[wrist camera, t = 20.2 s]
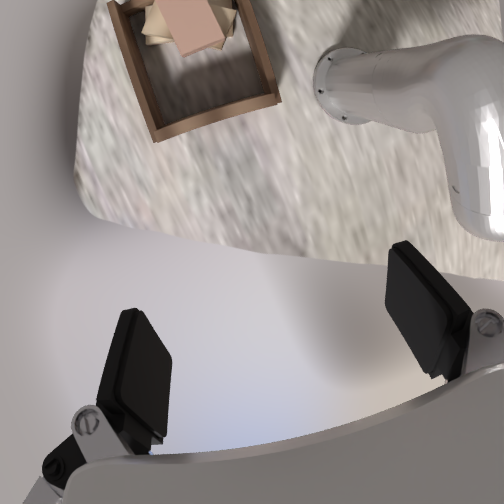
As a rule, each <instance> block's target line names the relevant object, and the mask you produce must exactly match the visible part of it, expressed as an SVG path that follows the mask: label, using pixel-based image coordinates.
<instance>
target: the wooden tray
mask: <svg viewBox="0 0 504 504" xmlns="http://www.w3.org/2000/svg"><path fill="white" fill-rule="evenodd" d="M154 1H155V0H130V1H128V2H126V3H124V4H121V5H120V4H118V3H117V2H116V1H114V0H112V1H110V2H108V3H107V6H108V10H109V13H110V17H111V20H112V23H113V27H114V30H115V33H116V36H117V40H118V43H119V46H120V49H121V52H122V55H123V58H124V61H125V64H126V67H127V70H128V73H129V76H130V79H131V82H132V85H133V88H134V91H135V94H136V96H137V99H138V102H139V105H140V108H141V110H142V113H143V116H144V119H145V121H146V124H147V127H148V129H149V132H150V135H151V137H152V140H153V143H155V142H157V143H159V142H161V141H164V140H166V139H169V138H171V137H174V136H177V135H179V134H182V133H185V132H188V131H191V130H193V129H196V128H199V127H202V126H205V125H208V124H211V123H214V122H217V121H220V120H224V119H227V118H230V117H234V116H237V115H240V114H244V113H247V112H251V111H255V110H258V109H262V108H266V107H270V106H274V105H277V103H281V102H282V100H281V97H280V93H279V90H278V86H277V83H276V79H275V76H274V73H273V69H272V66H271V63H270V59H269V56H268V53H267V50H266V47H265V44H264V40H263V37H262V34H261V31H260V28H259V25H258V22H257V19H256V17H255V14H254V11H253V8H252V5H251V2H250V0H234V1H235V4H236V7H237V9H238V12H239V15H240V18H241V21H242V24H243V27H244V30H245V33H246V36H247V39H248V42H249V45H250V48H251V51H252V54H253V57H254V60H255V64H256V67H257V70H258V73H259V76H260V80H261V83H262V86H263V90H264V93H262V94H258V95H255V96H251V97H247V98H243V99H240V100H236V101H233V102H230V103H226V104H223V105H220V106H216V107H213V108H210V109H207V110H204V111H201V112H198V113H195V114H192V115H190V116H187V117H184V118H181V119H179V120H176V121H173V122H171V123H168V124H165V123H164V120H163V117H162V114H161V111H160V109H159V106H158V103H157V100H156V97H155V95H154V92H153V89H152V86H151V83H150V80H149V77H148V74H147V71H146V68H145V65H144V62H143V59H142V56H141V53H140V50H139V47H138V44H137V41H136V38H135V35H134V32H133V29H132V26H131V22H130V19H129V17H130V16H132V15H135V14H137V13H139V12H141V11H144V10H145V7H146V6H151V5H153V3H154Z"/></svg>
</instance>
